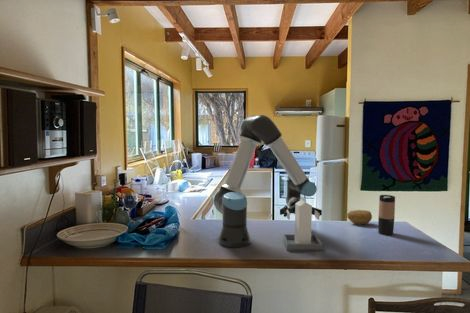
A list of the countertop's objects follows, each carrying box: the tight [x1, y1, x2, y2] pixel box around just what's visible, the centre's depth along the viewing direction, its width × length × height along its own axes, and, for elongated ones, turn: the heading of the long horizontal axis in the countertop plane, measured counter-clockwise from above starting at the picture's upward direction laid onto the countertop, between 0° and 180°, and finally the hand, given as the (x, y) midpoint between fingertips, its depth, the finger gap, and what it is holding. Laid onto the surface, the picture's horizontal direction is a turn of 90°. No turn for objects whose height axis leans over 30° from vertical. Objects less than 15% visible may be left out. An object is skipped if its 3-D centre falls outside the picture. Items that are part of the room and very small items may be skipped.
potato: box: [346, 209, 373, 225], centre depth 188 cm, size 10×14×8 cm
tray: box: [282, 233, 324, 252], centre depth 152 cm, size 16×14×3 cm
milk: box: [294, 196, 313, 244], centre depth 151 cm, size 6×6×22 cm
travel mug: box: [377, 194, 396, 236], centre depth 170 cm, size 8×8×20 cm
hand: (303, 216), depth 148 cm, fingers open, 13 cm apart
